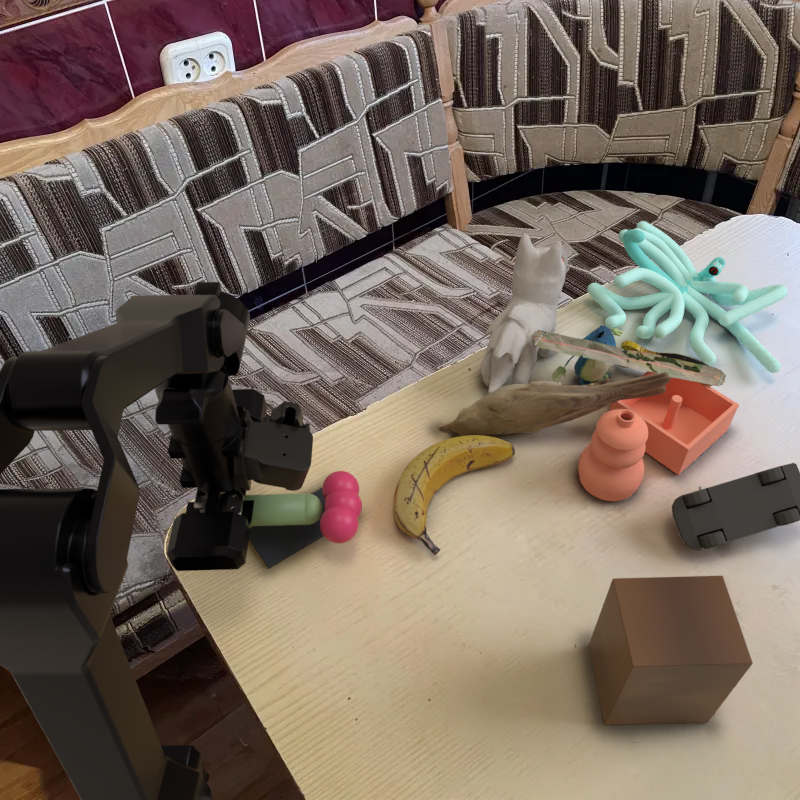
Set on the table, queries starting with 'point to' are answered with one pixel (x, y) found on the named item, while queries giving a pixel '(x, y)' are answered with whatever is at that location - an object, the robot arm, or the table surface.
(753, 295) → the tentacled creature figurine
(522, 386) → the sculpture
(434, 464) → the fruit
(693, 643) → the block
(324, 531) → the green pink knobbed rod
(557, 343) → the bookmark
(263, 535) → the placemat
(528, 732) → the table surface
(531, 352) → the toy
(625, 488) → the pottery
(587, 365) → the toy figurine
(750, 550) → the table surface
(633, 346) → the decorative item
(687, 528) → the toy car
